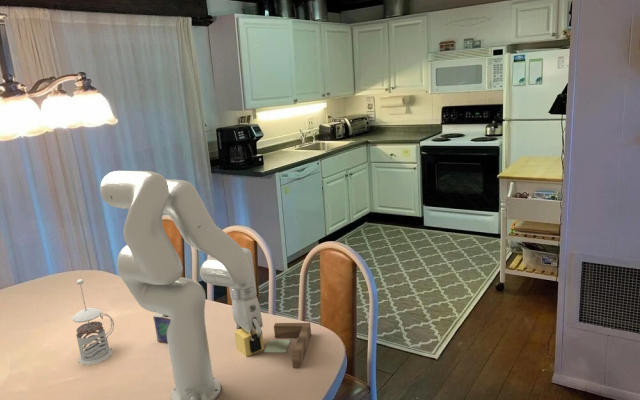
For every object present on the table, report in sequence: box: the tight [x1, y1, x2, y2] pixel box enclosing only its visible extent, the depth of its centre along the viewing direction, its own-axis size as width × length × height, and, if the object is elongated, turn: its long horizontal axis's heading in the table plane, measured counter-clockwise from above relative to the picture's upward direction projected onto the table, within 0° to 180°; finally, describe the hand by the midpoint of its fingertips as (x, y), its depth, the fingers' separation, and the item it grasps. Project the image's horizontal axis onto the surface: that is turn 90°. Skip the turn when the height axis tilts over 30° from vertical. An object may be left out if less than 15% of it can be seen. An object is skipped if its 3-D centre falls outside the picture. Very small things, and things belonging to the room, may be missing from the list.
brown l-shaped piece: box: [263, 322, 312, 369], centre depth 142 cm, size 18×12×4 cm
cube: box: [234, 326, 265, 358], centre depth 144 cm, size 6×6×6 cm
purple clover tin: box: [152, 313, 171, 345], centre depth 152 cm, size 9×3×11 cm, turn 65°
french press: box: [71, 278, 115, 366], centre depth 146 cm, size 10×12×25 cm
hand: (250, 345), depth 145 cm, fingers open, 6 cm apart
